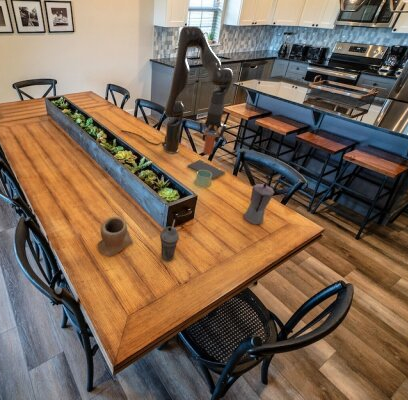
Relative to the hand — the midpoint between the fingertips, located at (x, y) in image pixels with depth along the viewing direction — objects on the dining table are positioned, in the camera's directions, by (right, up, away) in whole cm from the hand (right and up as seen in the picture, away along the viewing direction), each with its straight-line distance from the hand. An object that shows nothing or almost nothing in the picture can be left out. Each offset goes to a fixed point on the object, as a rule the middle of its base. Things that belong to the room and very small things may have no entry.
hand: (209, 141), depth 147 cm
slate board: (+1, -14, +20) cm, 25 cm away
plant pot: (0, -5, +4) cm, 7 cm away
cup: (-3, -22, +8) cm, 24 cm away
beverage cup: (-24, -56, -38) cm, 71 cm away
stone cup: (-45, -52, -35) cm, 77 cm away
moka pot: (+19, -42, -16) cm, 48 cm away
